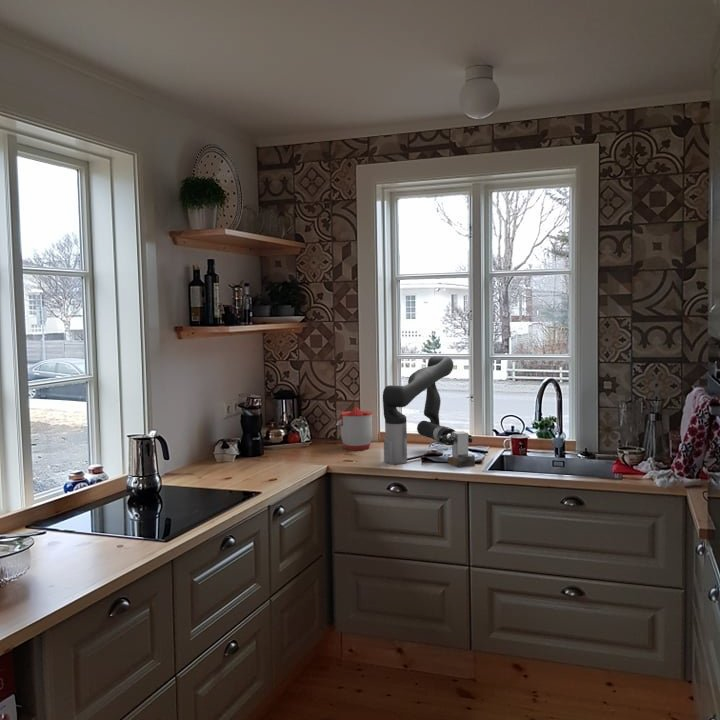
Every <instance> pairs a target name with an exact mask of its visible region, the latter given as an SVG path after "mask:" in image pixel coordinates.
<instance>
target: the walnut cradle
mask: <svg viewBox="0 0 720 720" xmlns="http://www.w3.org/2000/svg"><path fill="white" fill-rule="evenodd" d="M447 464H450V465H452V466H453V467H456V468H462V467H463V468H464V467H466V468H467V467H473V466H476V455H468V456H465V457H457V459H455V458H452V456H449V457H447Z"/></svg>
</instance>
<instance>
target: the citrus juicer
mask: <svg viewBox="0 0 720 720" xmlns="http://www.w3.org/2000/svg"><path fill="white" fill-rule="evenodd" d="M339 419H340V420H339ZM339 419H338V421H336V424H335V425H336V426H340V436H341V441H342V445H343V447H344V449H346V450H349V451H361V450H363V451H364V450H365V449H366V450H368V449H369V448H370V446H371V443H372V437H373V411H368V410H367V411H366V410H361V409H360V408H358V406H355V407H353V409H352V410H348V411H343V412H340V415H339Z"/></svg>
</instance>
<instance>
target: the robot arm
mask: <svg viewBox="0 0 720 720" xmlns="http://www.w3.org/2000/svg"><path fill="white" fill-rule="evenodd" d="M426 366H427V367H426ZM426 366H425V367H421V368H419V369H417V370H416V371H414V372H413V373H412V374H410V376H409V377H408V380H407V384H406V385H386V386H385V387H384V389H383V392H382V408H383V409H382V410H383V419H384V424H385V425H384V429H385V431H384V432H385V436H384V437H385V438H384V439H383V461H384V463H386V464H389V465H393V464H394V465H396V464H397V465H398V464H399V465H400V464H406V463H407V462H408V444H407V443H408V440H407V439H408V437H407V436H408V435H407V434H408V433H407V429H408V428H407V416H406V415H405V414H403V413H401V412H400V411H399V410H398V409H397V408H405V407H406V406H408V405H409V404H410V403H411V402H412V401H413V400H414V399H415V398H416V397H417V396H419V395H420V394H421V393H423V392H424V391H425V390H426V394H425V395H426V398H425V402H424V407H423V416H425V417H426V418H427V419H429V421H428V420H420V421H419V422H418V424H417V425H416V431H417V434H419V435H420V436H422V437H427V438H429V439H432V440H434V441H436V442H437V443H440V444H441V445H446V446H452V445H454V439H452V432H456V430H455V429H453V428H451V427H448V426H444V425H441V424H440V414H439V413H440V408H441V402H442V401H441V396H440V393H439V390H438V388H437V386H436V382H438V381H439V380H441V379H443V378H445V377H448V376H449V375H450V374H451V373H452V372H453V369H454V361H453V360H452V358H451V357H449V356H447V355H440V356H439V355H437V356H431V357H429V359H428V362H427V365H426ZM472 443H473V438H472V435H471V434H469V433H468V444H472Z"/></svg>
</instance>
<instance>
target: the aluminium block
mask: <svg viewBox="0 0 720 720" xmlns="http://www.w3.org/2000/svg"><path fill="white" fill-rule="evenodd" d="M468 434H469V432H467V431H464V430H461V431H455V432H452V439H454V445H451V451H452V452H451V457H452V458H455V459H457V457H465V456H469V442H468Z"/></svg>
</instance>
